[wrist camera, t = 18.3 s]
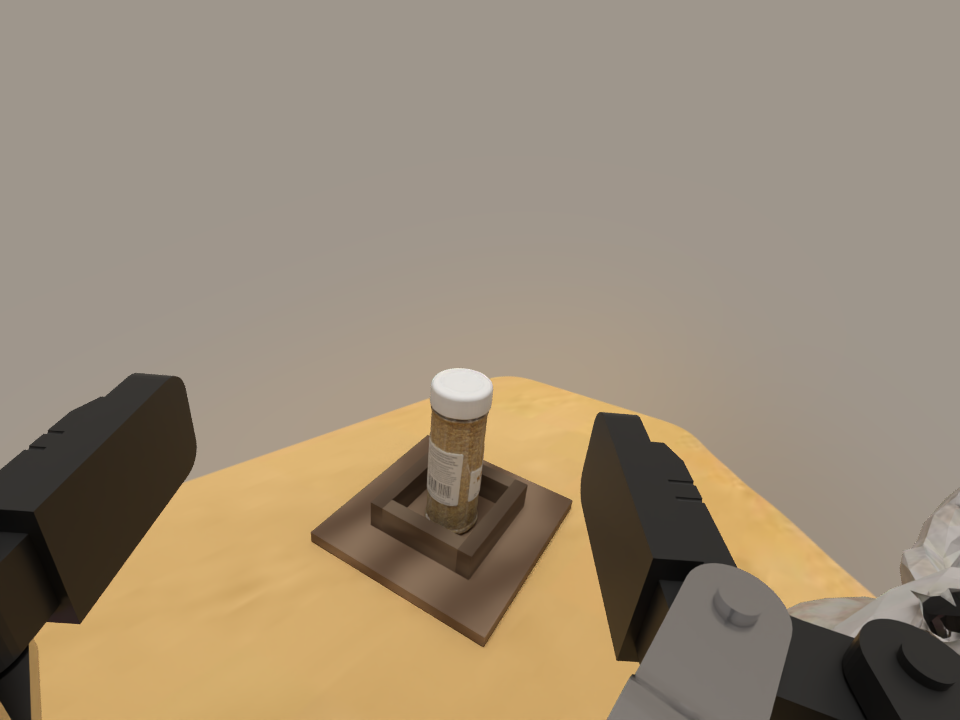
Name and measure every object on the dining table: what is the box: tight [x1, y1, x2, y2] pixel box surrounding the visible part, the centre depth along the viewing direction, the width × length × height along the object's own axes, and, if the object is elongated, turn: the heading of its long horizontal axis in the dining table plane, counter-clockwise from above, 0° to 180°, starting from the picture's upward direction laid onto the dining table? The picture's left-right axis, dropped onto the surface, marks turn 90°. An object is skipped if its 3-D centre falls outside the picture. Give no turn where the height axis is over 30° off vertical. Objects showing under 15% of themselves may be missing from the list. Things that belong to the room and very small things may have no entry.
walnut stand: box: [311, 435, 572, 647], centre depth 45 cm, size 16×16×4 cm
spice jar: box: [425, 368, 493, 534], centre depth 42 cm, size 5×5×13 cm
